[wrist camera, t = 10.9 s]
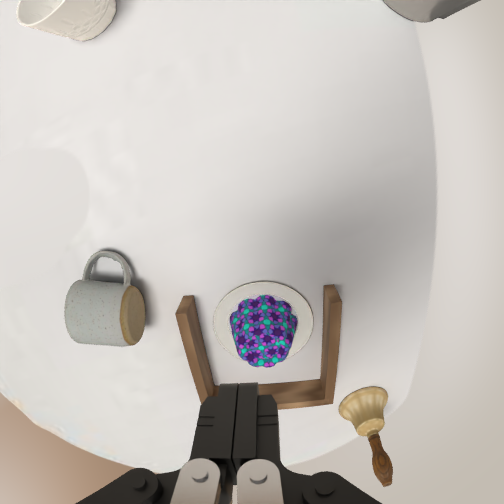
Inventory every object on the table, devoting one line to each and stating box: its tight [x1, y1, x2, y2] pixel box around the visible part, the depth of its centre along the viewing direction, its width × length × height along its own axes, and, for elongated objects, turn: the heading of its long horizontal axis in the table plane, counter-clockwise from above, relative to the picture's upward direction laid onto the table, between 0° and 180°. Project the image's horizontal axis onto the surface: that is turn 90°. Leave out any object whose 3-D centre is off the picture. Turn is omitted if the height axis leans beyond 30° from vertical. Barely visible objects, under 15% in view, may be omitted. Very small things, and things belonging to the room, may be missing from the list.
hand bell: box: [339, 387, 393, 487], centre depth 34 cm, size 8×8×16 cm
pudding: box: [213, 282, 313, 367], centre depth 33 cm, size 12×12×5 cm
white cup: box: [16, 0, 116, 41], centre depth 18 cm, size 8×8×10 cm
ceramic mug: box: [65, 251, 145, 346], centre depth 31 cm, size 11×8×8 cm
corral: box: [175, 285, 342, 410], centre depth 35 cm, size 17×16×4 cm
